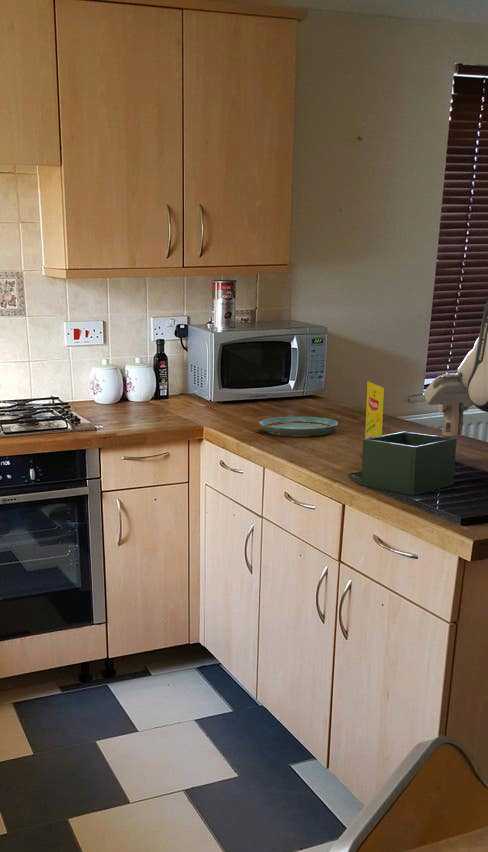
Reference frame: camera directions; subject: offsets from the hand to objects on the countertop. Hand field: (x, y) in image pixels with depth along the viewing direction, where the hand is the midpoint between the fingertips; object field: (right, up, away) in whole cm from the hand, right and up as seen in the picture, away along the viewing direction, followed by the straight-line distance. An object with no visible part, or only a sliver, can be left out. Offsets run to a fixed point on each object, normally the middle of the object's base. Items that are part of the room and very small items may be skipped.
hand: (452, 409), depth 220 cm
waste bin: (-17, -21, -19) cm, 33 cm away
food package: (-19, -13, +6) cm, 23 cm away
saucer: (-30, +3, +55) cm, 62 cm away
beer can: (0, -7, +1) cm, 7 cm away
